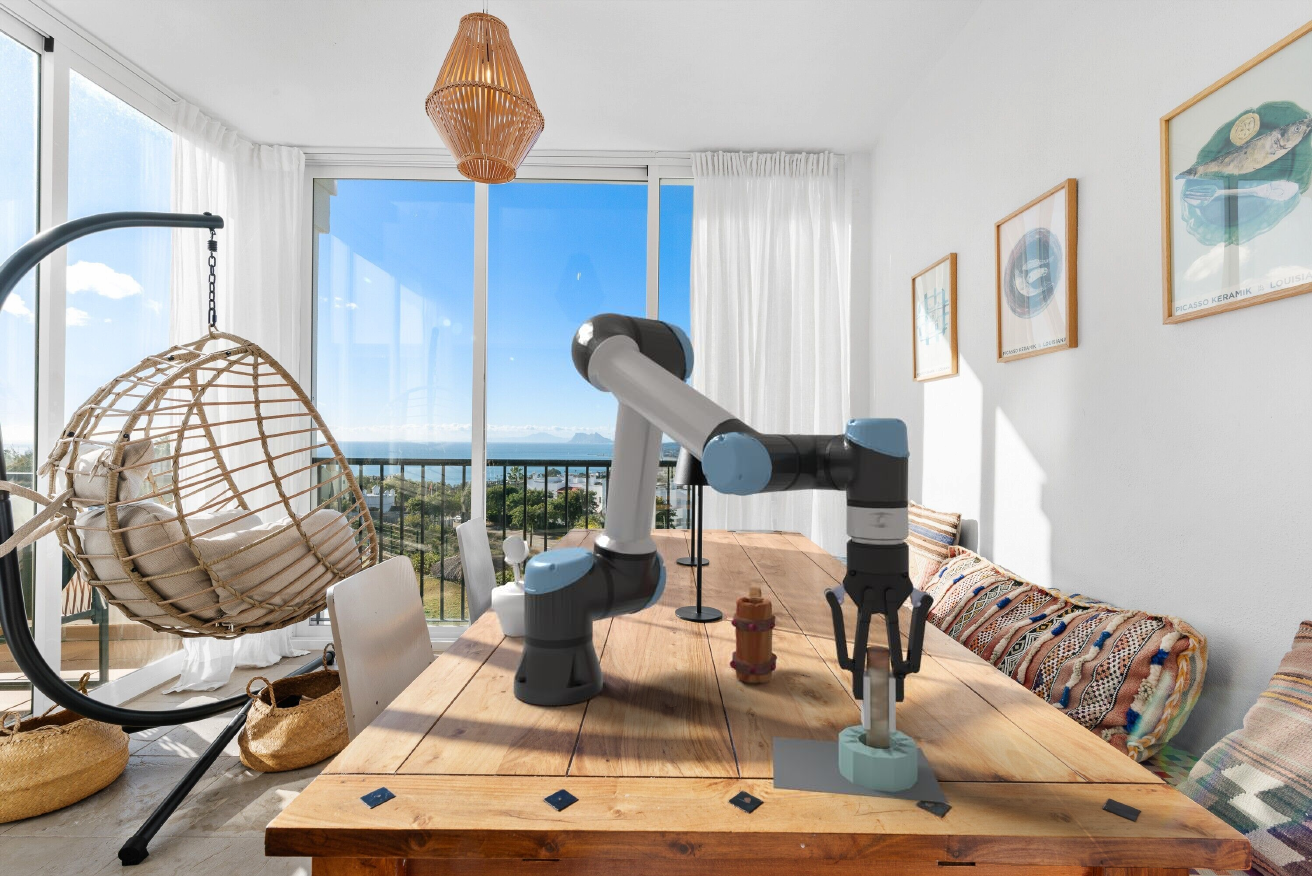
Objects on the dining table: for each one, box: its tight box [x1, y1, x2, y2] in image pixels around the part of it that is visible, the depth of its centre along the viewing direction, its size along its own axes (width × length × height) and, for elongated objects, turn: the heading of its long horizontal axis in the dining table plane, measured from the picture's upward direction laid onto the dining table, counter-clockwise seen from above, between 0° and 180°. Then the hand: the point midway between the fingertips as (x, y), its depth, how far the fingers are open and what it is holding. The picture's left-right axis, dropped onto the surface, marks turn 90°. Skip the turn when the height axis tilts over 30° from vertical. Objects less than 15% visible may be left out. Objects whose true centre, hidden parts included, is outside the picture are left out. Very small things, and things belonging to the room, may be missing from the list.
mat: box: [771, 736, 949, 804], centre depth 86 cm, size 20×14×1 cm
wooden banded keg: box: [729, 586, 778, 685], centre depth 121 cm, size 15×8×15 cm, turn 168°
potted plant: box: [491, 524, 541, 638], centre depth 148 cm, size 13×12×25 cm
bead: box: [838, 724, 919, 792], centre depth 84 cm, size 9×9×4 cm
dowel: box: [866, 645, 891, 749], centre depth 84 cm, size 3×3×15 cm
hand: (878, 725), depth 84 cm, fingers closed on dowel, 2 cm apart
